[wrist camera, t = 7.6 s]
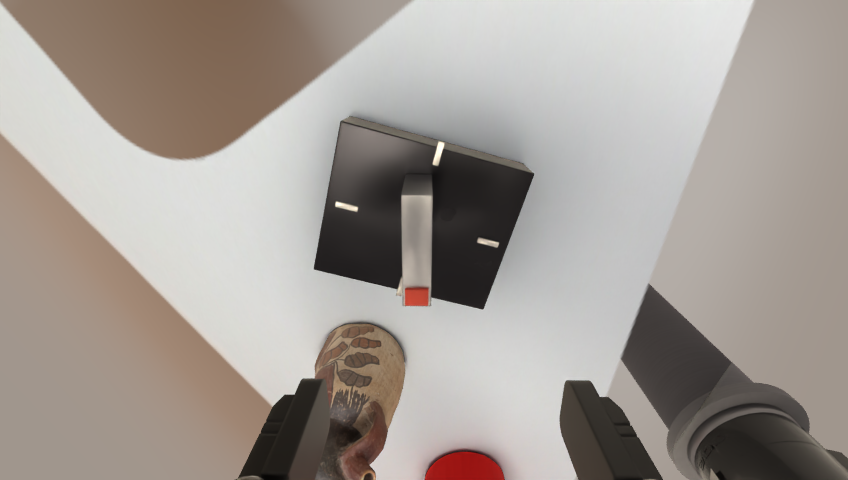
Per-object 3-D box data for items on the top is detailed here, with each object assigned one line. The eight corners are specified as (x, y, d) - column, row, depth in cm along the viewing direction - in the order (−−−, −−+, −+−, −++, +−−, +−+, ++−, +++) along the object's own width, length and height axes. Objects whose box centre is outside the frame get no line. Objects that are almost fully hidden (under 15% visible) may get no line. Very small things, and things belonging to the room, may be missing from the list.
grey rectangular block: (405, 174, 25) (400, 196, 20) (431, 174, 25) (432, 196, 20) (406, 269, 27) (402, 308, 23) (430, 270, 27) (430, 309, 23)
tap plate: (525, 158, 27) (537, 168, 24) (477, 292, 31) (482, 315, 28) (350, 110, 26) (340, 114, 23) (323, 255, 30) (311, 275, 27)
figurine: (304, 336, 33) (242, 470, 22) (385, 310, 32) (363, 437, 21) (342, 400, 35) (303, 550, 24) (418, 378, 34) (413, 523, 23)
